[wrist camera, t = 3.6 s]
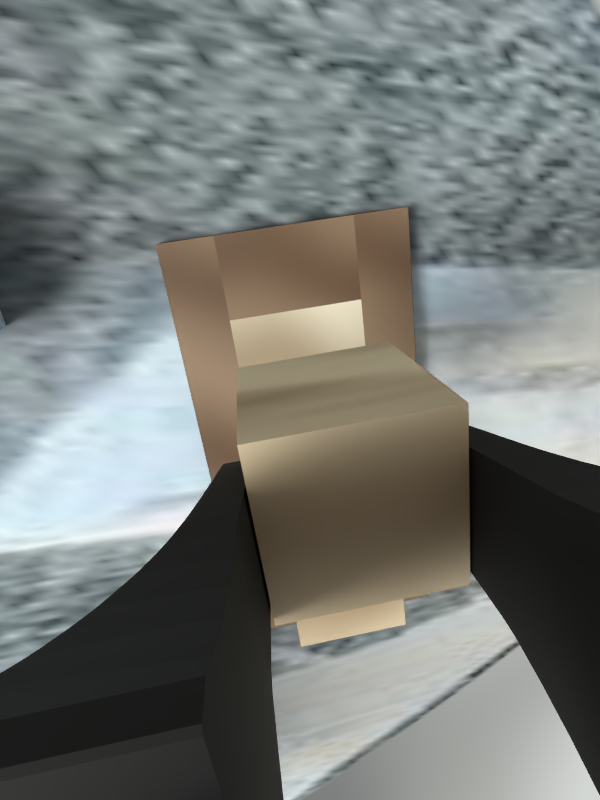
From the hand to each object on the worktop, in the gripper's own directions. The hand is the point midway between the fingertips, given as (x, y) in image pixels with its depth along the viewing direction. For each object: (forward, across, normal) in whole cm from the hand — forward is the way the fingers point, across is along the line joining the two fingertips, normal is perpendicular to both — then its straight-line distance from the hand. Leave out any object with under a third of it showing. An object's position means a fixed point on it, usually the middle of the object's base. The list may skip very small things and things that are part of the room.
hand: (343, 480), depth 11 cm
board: (+9, 0, +4) cm, 10 cm away
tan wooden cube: (+2, 0, 0) cm, 2 cm away
